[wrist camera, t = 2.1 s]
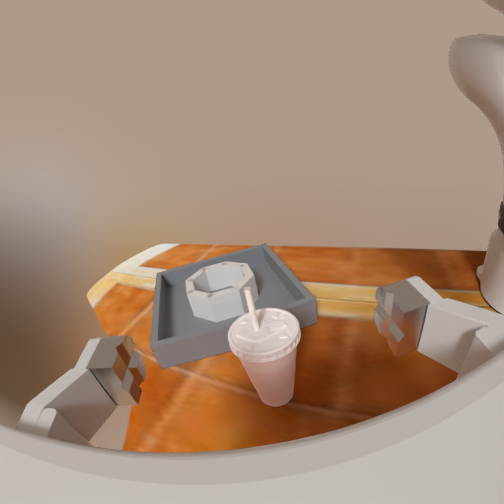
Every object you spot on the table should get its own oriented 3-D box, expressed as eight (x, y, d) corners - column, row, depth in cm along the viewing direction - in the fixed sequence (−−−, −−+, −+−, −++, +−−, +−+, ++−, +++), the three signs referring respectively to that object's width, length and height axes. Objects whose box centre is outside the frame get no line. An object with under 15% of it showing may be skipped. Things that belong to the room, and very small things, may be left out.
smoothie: (243, 379, 30) (212, 277, 25) (297, 365, 31) (283, 260, 25) (252, 423, 24) (216, 320, 19) (313, 406, 25) (306, 297, 19)
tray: (268, 261, 57) (264, 237, 55) (317, 322, 37) (315, 291, 35) (163, 290, 53) (154, 267, 51) (161, 368, 33) (146, 340, 31)
